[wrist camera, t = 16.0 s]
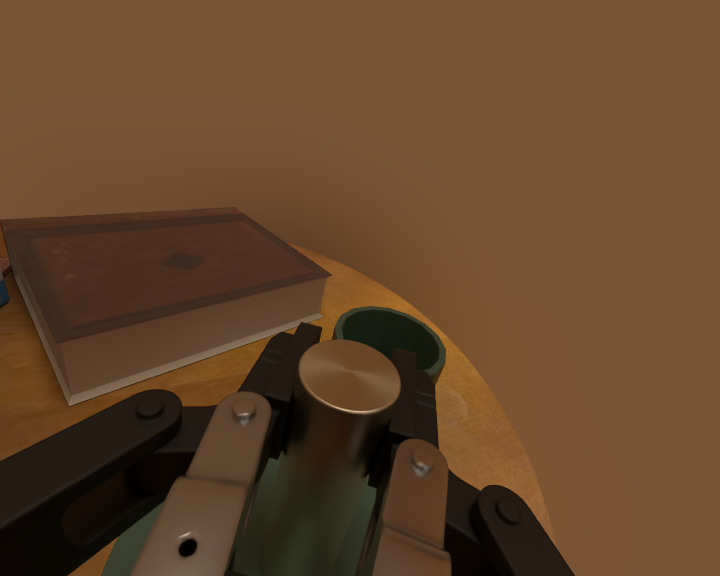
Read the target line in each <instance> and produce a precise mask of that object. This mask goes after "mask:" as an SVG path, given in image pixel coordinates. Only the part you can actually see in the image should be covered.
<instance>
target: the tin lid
mask: <svg viewBox="0 0 720 576" xmlns="http://www.w3.org/2000/svg"><path fill="white" fill-rule="evenodd" d="M400 391H401V381H400V377H399V374H398V371H397V369H396V368H395V366H394V365H393V364H392V362H391V361H390V360H389V359H388V358H387V357H386V356H384V355H383V354H382V353H380V352H379V351H377V350H376V349H374V348H372V347H370V346H368V345H365V344H362V343H359V342H355V341H350V340H339V339H338V340H327V341H323V342H320V343H317V344H315V345H313V346H312V347H310V348H309V349H308V350H307V351H305V353H304V354H303V355H302V357H301V359H300V361H299V364H298V369H297V374H296V379H295V384H294V391H293V397H292V402H291V407H290V412H289V417H288V422H287V427H286V433H285V438H284V443H283V448H282V451H281V454H280V457H279V459H278V460H276V459H272V458H269V460H268V463H267V465H266V468H265V470H264V472H263V474H262V476H261V479H260V484H259V488H258V491H257V495H256V499H255V503H254V507H253V511H252V514H251V518H250V522H249V526H248V530H247V534H246V538H245V541H244V545H243V549H242V553H241V558H240V562H239V567H238V572H239V573H242V574H246V575H247V576H354V575H355V571H356V567H357V563H358V559H359V556H360V552H361V548H362V544H363V540H364V536H365V532H366V528H367V525H368V521H369V517H370V513H371V510H372V508H373V505H374V503H375V498H376V489H377V488H373V487H370V486H367V485H368V477H369V472H370V469H371V467H372V464H373V462H374V459H375V456H376V454H377V451H378V449H379V446H380V443H381V441H382V438H383V436H384V433H385V430H386V428H387V425H388V423H389V420H390V418H391V415H392V413H393V410H394V408H395V405H396V402H397V400H398V397H399V394H400ZM164 502H165V501H164ZM164 502H163V503H161V504H160V505H159V506H157V507H156V508H155V509H153V510H152V511H151V512H150V513H148V514H147V515H146V516H144V517H143V518H142V519H140V520H139V521H138V522H136V523H135V524H134V525H133V526H131V527H130V528H129V529H127V530H126V531H125V532H123V533H122V534H121V535H120V536H119V538H118V539H117V541H116V543H115V545H114V547H113V549H112V552H111V554H110V556H109V558H108V561H107V563H106V565H105V567H104V570H103V572H102V575H101V576H129V575H130V572H131V570H132V568H133V566H134V564H135V562H136V560H137V558H138V556H139V554H140V552H141V550H142V547H143V545H144V543H145V541H146V539H147V537H148V535H149V533H150V531H151V529H152V527H153V524H154V522H155V520H156V518H157V516H158V514H159V512H160V510H161V508H162V506H163V504H164Z"/></svg>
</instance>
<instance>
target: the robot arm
mask: <svg viewBox="0 0 720 576" xmlns="http://www.w3.org/2000/svg"><path fill="white" fill-rule="evenodd" d="M321 331H322V327H319V326H315V325H312V324H308V323H305V322H301V323H300V324H299V326H298V328H297V330H296V332H295V334H294V335H292V334H289V333H285V332H281V333H279V334H277V335H276V336H274V337H273V338H271V339H270V340H269V342H268V344H267V345H266V347H265V349H264V351H263V352H262V353H261V355H260V357H259V359H258V360H257V361H256V363H255V365H254V366H253V368H252V369H251V371H250V373H249V374H248V376H247V377H246V379H245V381H244V382H243V384H242V385H241V387H240V389H239V390H238V392H236V393H233V394H230V395H228V396H227V397H225V398H224V399H222V400H221V401H220V403H219V404H218V405H214V406H205V407H182V403H181V400H180V398H179V397H178V396H177V395H176V394H174V393H172V392H170V391H167V390H161V389H153V390H146V391H143V392H139V393H137V394H135V395H133V396H131V397H129V398H127V399H125V400H123V401H121V402H118V403H116V404H114V405H112V406H110V407H108V408H106V409H104V410H102V411H100V412H98V413H96V414H94V415H92V416H90V417H88V418H86V419H84V420H82V421H80V422H78V423H76V424H74V425H72V426H70V427H68V428H66V429H64V430H62V431H60V432H58V433H56V434H54V435H52V436H50V437H48V438H46V439H44V440H42V441H40V442H38V443H36V444H34V445H32V446H30V447H28V448H26V449H24V450H22V451H20V452H18V453H16V454H14V455H12V456H10V457H8V458H6V459H4V460H2V461H0V576H68V575H69V574H70V573H71V572H73V571H74V570H75V569H77V568H78V567H79V566H81V565H82V564H83V563H84V562H86V561H87V560H88V559H90V558H91V557H92V556H94V555H95V554H96V553H97V552H99V551H100V550H101V549H103V548H104V547H105V546H107V545H108V544H109V543H110V542H112V541H113V540H114V539H116V538H117V537H118V536H120V535H121V534H122V533H123V532H125V531H126V530H127V529H129V528H130V527H131V526H133V525H134V524H135V523H136V522H138V521H139V520H140V519H142V518H143V517H144V516H146V515H147V514H148V513H150V512H151V511H152V510H153V509H155V508H156V507H157V506H159V505H160V504H161V503H163V502H164V501H165V502H164V504H163V506H162V508H161V510H160V512H159V514H158V516H157V518H156V520H155V522H154V524H153V527H152V529H151V531H150V533H149V535H148V537H147V539H146V541H145V543H144V545H143V547H142V550H141V552H140V554H139V556H138V558H137V560H136V562H135V564H134V566H133V568H132V570H131V572H130V575H129V576H247V575H246V574H242V573H239V572H238V567H239V562H240V558H241V553H242V549H243V545H244V541H245V538H246V534H247V530H248V526H249V522H250V518H251V514H252V511H253V507H254V503H255V499H256V495H257V491H258V488H259V484H260V479H261V476H262V474H263V472H264V470H265V468H266V465H267V463H268V460H269V458H272V459H276V460H278V459H279V457H280V454H281V451H282V448H283V443H284V438H285V433H286V427H287V422H288V417H289V412H290V407H291V402H292V397H293V391H294V384H295V379H296V374H297V369H298V364H299V361H300V359H301V357H302V355H303V354H304V353H305V351H307V350H308V349H309V348H310V347H312V346H313V345H315V344H317V343H319V341H320V336H321ZM390 361H391V362H392V364H393V365H394V366H395V368H396V369H397V371H398V374H399V377H400V381H401V391H400V394H399V397H398V400H397V402H396V405H395V408H394V410H393V413H392V415H391V418H390V420H389V423H388V425H387V428H386V430H385V433H384V436H383V438H382V441H381V443H380V446H379V449H378V451H377V454H376V456H375V459H374V462H373V464H372V467H371V469H370V472H369V477H368V485H367V486H370V487H373V488H377V489H376V498H375V503H374V505H373V508H372V510H371V513H370V517H369V521H368V525H367V528H366V532H365V536H364V540H363V544H362V548H361V552H360V556H359V559H358V563H357V567H356V571H355V575H354V576H575V575H574V574H573V572H572V571H571V569H570V568H569V566H568V565H567V563H566V562H565V560H564V559H563V557H562V556H561V554H560V553H559V551H558V550H557V548H556V547H555V545H554V544H553V542H552V541H551V539H550V538H549V536H548V535H547V533H546V532H545V530H544V529H543V527H542V526H541V524H540V523H539V521H538V520H537V518H536V517H535V516H534V514H533V513H532V511H531V510H530V508H529V507H528V505H527V504H526V503H525V502H524V501H523V499H522V498H520V497H519V496H518V495H517V494H516V493H514V492H513V491H511V490H510V489H508V488H505V487H503V486H499V485H489V486H486V487H485V488H483V489H482V490H481V491H480V490H478V489H476V488H475V487H473V486H471V485H470V484H468V483H466V482H465V481H463V480H461V479H460V478H458V477H457V476H456V475H455V474H453V473H452V472H451V471H450V470H449V468H448V464H447V462H446V459H445V457H444V456H443V454H442V453H441V452H440V451H439V444H438V429H437V413H436V399H435V384H434V382H433V381H432V379H431V377H430V375H429V373H428V372H425V371H421V370H418V369H417V356H416V353H412V352H409V351H405V350H402V349H398V348H395V349H394V351H393V354H392V356H391V359H390Z"/></svg>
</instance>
